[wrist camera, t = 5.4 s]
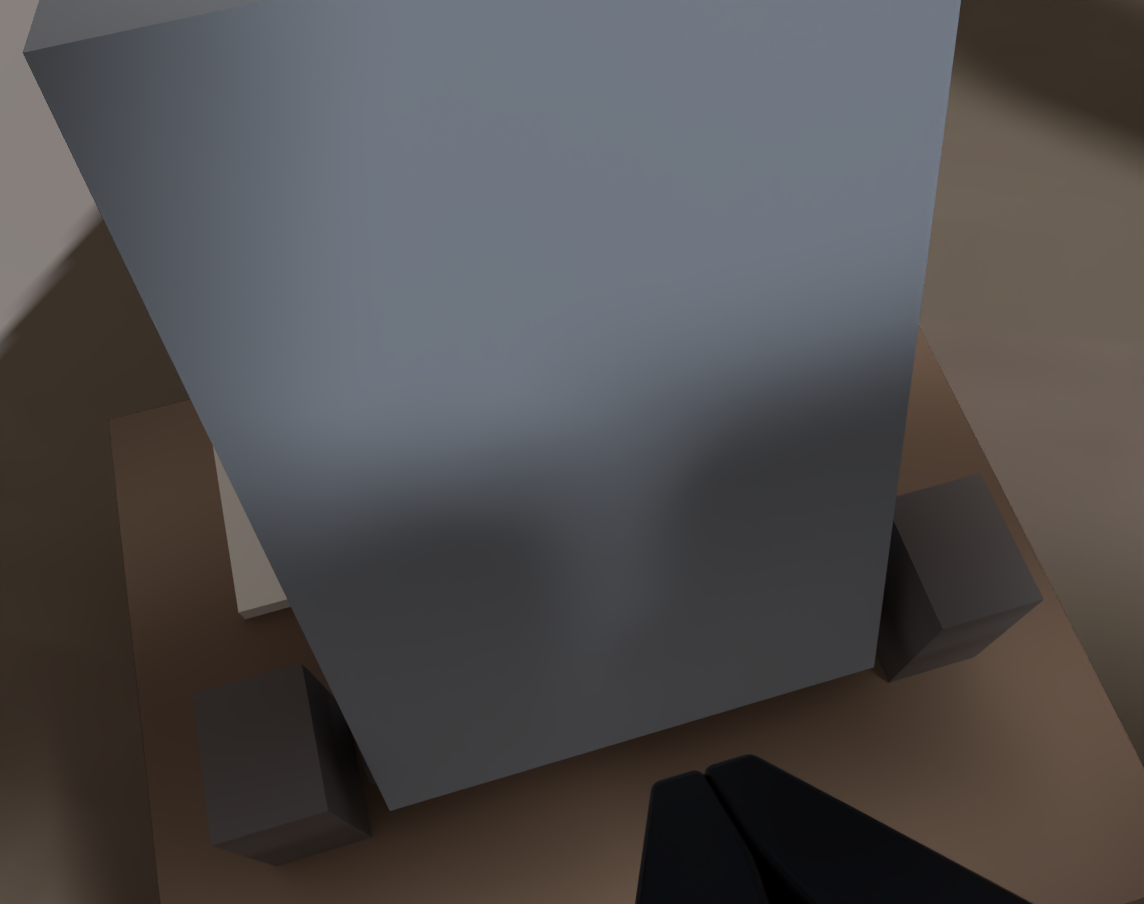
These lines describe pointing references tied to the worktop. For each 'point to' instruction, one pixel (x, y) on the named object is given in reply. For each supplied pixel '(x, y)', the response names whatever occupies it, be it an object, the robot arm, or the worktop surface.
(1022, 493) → the worktop surface
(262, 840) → the switch base
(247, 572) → the switch plate
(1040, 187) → the worktop surface
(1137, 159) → the worktop surface
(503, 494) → the block
